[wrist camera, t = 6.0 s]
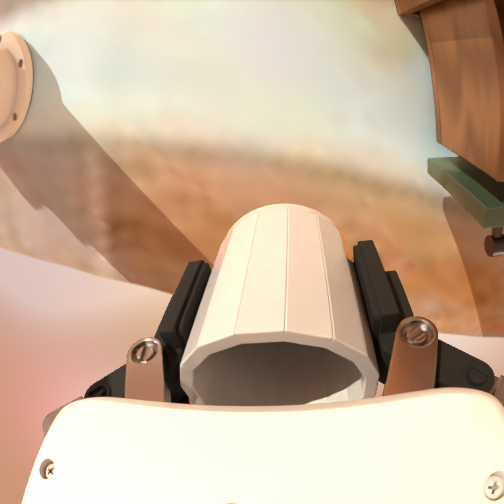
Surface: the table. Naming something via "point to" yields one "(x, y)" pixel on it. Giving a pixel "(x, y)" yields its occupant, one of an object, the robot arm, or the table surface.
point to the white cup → (281, 317)
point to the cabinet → (413, 6)
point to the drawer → (470, 106)
